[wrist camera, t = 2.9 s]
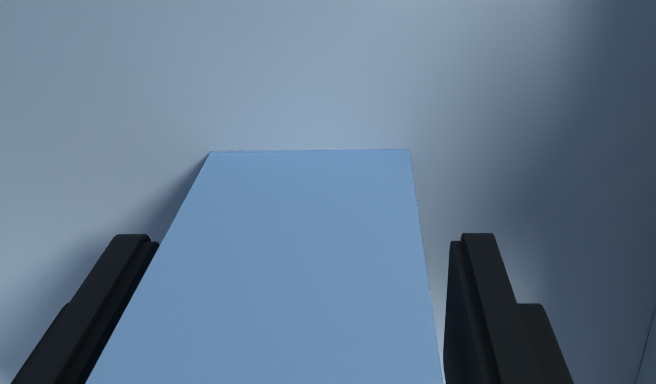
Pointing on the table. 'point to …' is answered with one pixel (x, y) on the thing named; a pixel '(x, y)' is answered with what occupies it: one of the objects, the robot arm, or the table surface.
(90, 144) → the table surface
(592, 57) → the table surface
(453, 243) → the robot arm
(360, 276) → the block
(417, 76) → the table surface
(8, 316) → the table surface
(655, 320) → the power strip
